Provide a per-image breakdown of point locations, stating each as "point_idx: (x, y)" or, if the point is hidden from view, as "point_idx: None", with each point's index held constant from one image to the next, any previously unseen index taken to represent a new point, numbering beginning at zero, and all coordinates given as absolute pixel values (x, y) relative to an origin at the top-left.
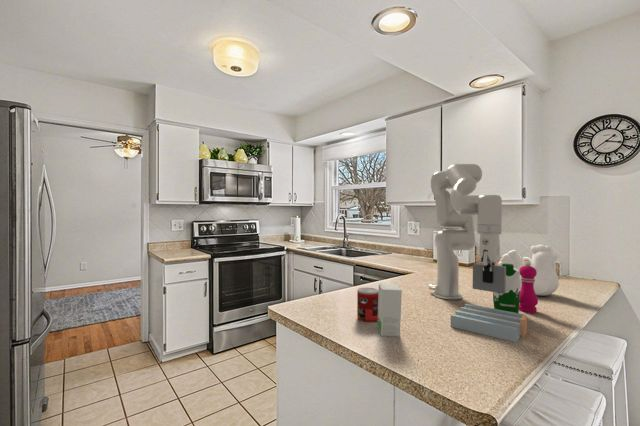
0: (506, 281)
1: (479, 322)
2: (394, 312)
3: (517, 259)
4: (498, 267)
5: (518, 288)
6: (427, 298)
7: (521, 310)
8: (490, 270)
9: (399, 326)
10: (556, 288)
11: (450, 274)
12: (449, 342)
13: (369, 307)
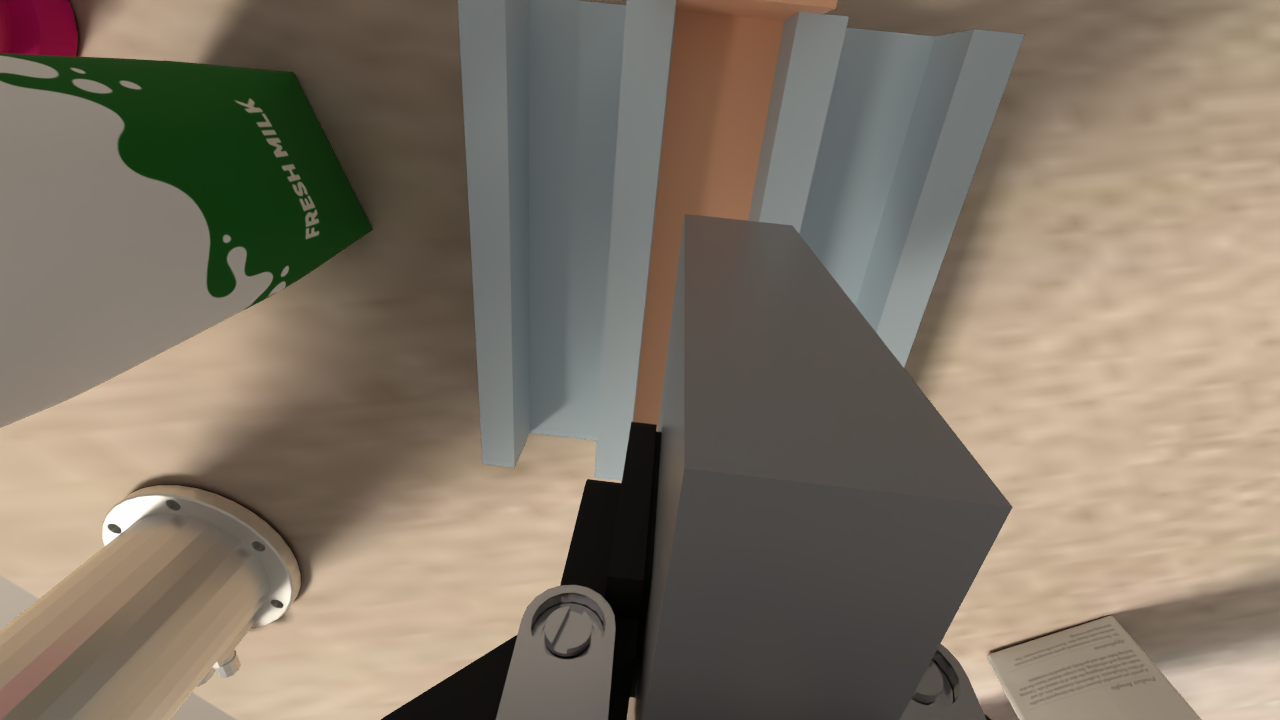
0: (45, 250)
1: (913, 332)
2: None
3: None
4: (912, 638)
5: None
6: (364, 626)
7: (72, 54)
8: (959, 684)
9: (1155, 667)
10: None
11: (94, 710)
12: (1122, 424)
13: None
